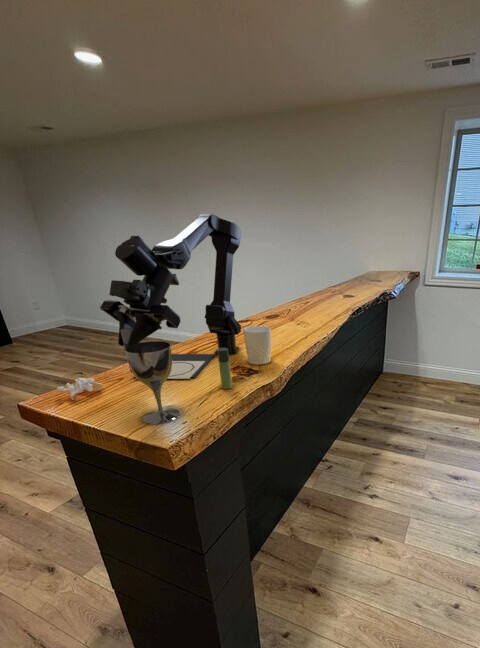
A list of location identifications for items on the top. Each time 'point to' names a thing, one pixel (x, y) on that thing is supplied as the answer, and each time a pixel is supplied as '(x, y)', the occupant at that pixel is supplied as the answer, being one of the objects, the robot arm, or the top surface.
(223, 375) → the sage-green marker
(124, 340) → the cylinder
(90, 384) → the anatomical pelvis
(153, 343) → the wine glass
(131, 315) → the robot arm
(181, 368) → the sketch pad
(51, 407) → the top surface
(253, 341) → the white cup
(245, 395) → the top surface
